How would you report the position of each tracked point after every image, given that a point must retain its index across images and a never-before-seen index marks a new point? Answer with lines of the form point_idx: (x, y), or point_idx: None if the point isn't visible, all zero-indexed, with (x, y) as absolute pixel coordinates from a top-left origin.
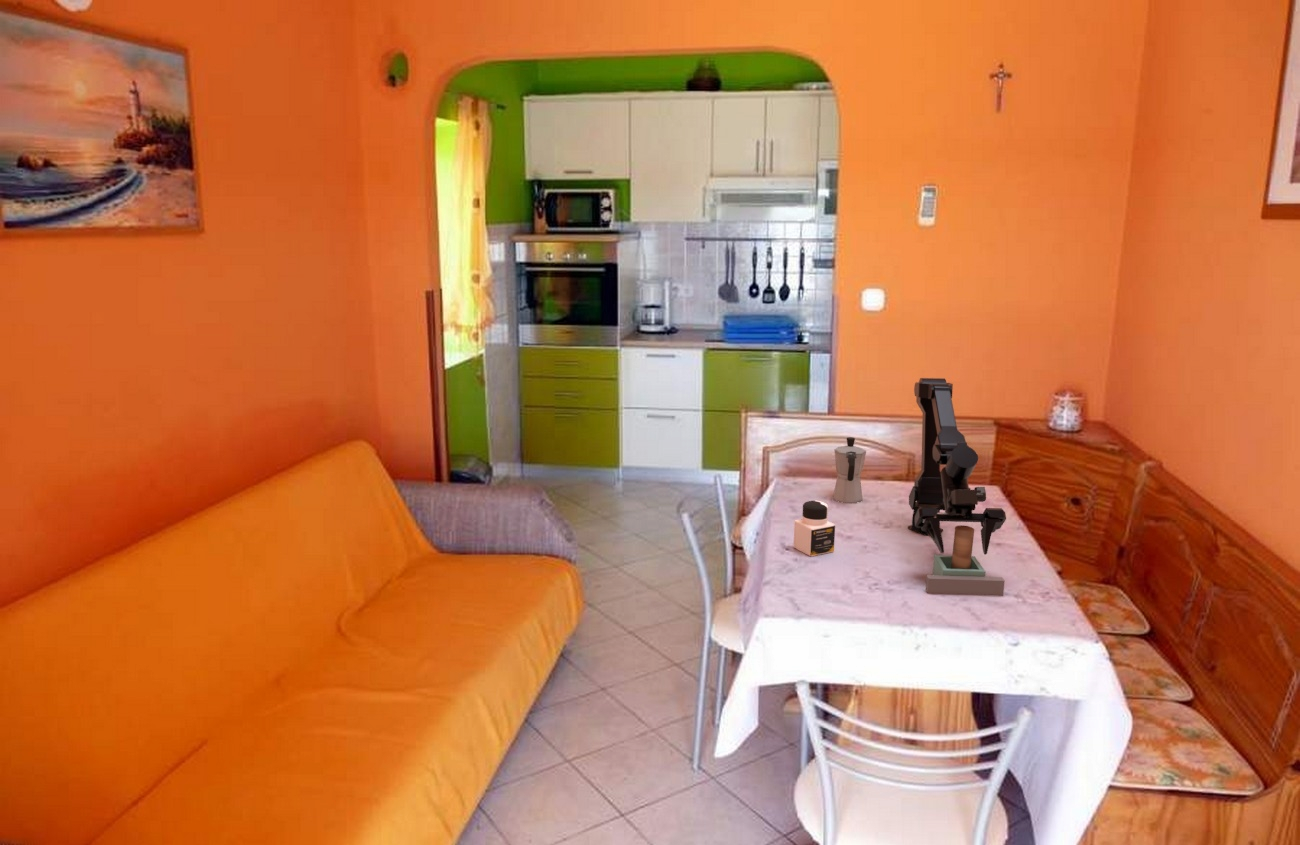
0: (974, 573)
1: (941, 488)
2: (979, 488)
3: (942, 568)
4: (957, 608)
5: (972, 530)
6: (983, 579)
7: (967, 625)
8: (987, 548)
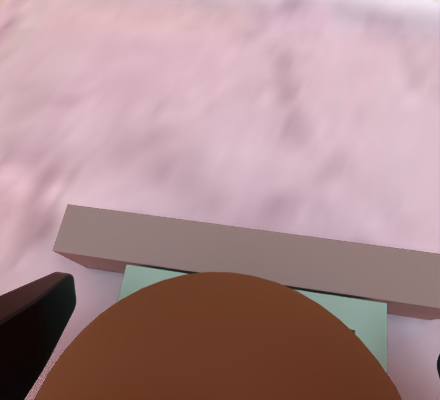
0: None
1: None
2: None
3: (384, 335)
4: (331, 133)
5: (98, 348)
6: (165, 227)
7: (336, 23)
8: (28, 284)
